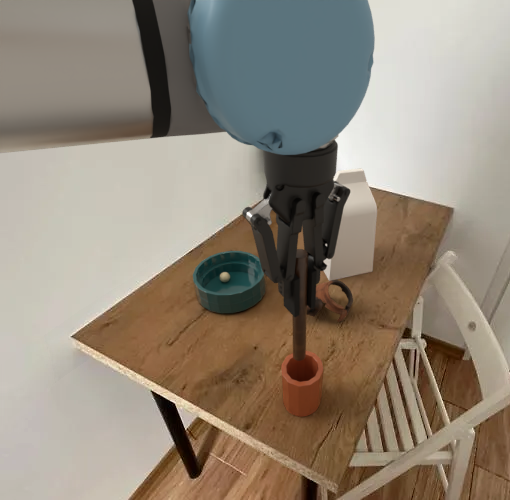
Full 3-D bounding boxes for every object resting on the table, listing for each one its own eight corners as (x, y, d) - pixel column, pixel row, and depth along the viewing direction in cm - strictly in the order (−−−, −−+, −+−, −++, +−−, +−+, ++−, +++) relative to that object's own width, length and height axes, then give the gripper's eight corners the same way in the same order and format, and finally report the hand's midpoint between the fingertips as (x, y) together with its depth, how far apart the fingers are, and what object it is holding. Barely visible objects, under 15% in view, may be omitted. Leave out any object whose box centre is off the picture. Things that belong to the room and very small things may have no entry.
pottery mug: (322, 289, 86) (341, 271, 81) (343, 323, 83) (364, 305, 78) (284, 304, 77) (303, 284, 72) (307, 342, 74) (328, 324, 69)
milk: (329, 280, 88) (335, 184, 72) (314, 254, 96) (316, 163, 81) (372, 271, 92) (386, 178, 76) (354, 246, 100) (363, 158, 85)
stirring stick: (297, 363, 54) (297, 260, 43) (290, 354, 55) (288, 252, 44) (308, 356, 55) (311, 254, 44) (300, 348, 57) (301, 246, 45)
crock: (297, 424, 58) (297, 393, 53) (275, 395, 62) (273, 364, 57) (328, 401, 62) (331, 370, 57) (306, 375, 66) (306, 344, 61)
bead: (223, 285, 83) (221, 277, 82) (218, 280, 84) (217, 272, 83) (232, 281, 84) (231, 274, 83) (227, 276, 86) (226, 268, 84)
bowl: (215, 326, 74) (211, 305, 70) (186, 286, 83) (181, 266, 79) (278, 295, 82) (277, 276, 79) (246, 262, 91) (244, 243, 88)
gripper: (334, 117, 42) (325, 272, 55) (212, 138, 33) (236, 313, 47) (380, 136, 37) (357, 299, 51) (251, 165, 29) (266, 350, 43)
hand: (299, 305), depth 49 cm, fingers closed on stirring stick, 2 cm apart
